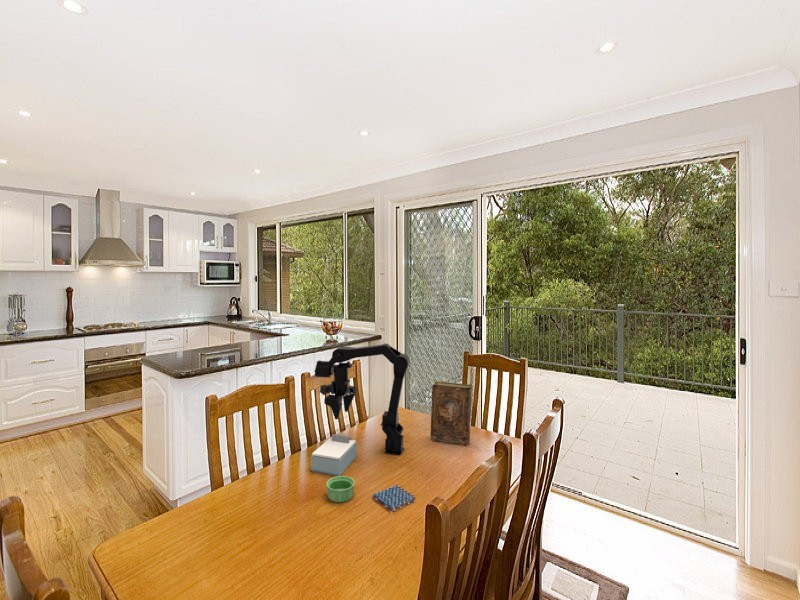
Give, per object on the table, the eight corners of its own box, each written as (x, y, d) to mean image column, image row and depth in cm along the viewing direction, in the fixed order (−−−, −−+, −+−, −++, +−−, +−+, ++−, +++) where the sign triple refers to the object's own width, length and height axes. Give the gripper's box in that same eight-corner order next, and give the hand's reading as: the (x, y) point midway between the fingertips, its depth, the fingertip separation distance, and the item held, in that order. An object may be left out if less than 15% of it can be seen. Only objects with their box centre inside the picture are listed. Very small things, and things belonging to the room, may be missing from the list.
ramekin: (320, 498, 127) (320, 485, 127) (337, 485, 135) (337, 473, 135) (343, 507, 123) (343, 493, 123) (359, 493, 131) (360, 480, 131)
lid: (331, 438, 159) (331, 431, 159) (356, 442, 156) (356, 434, 156) (312, 455, 144) (312, 446, 144) (339, 459, 141) (339, 451, 141)
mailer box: (330, 452, 160) (331, 439, 159) (356, 456, 157) (356, 443, 156) (311, 471, 144) (311, 456, 144) (339, 476, 141) (339, 461, 141)
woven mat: (370, 499, 128) (370, 493, 128) (396, 489, 135) (396, 483, 135) (390, 515, 120) (390, 508, 120) (416, 503, 127) (417, 497, 127)
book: (470, 441, 174) (472, 384, 172) (468, 446, 168) (470, 388, 167) (433, 436, 178) (434, 381, 177) (430, 441, 173) (432, 384, 172)
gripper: (333, 371, 175) (334, 406, 176) (311, 382, 157) (312, 421, 158) (357, 373, 172) (357, 408, 173) (337, 384, 154) (338, 424, 155)
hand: (341, 415), depth 165 cm, fingers open, 9 cm apart
